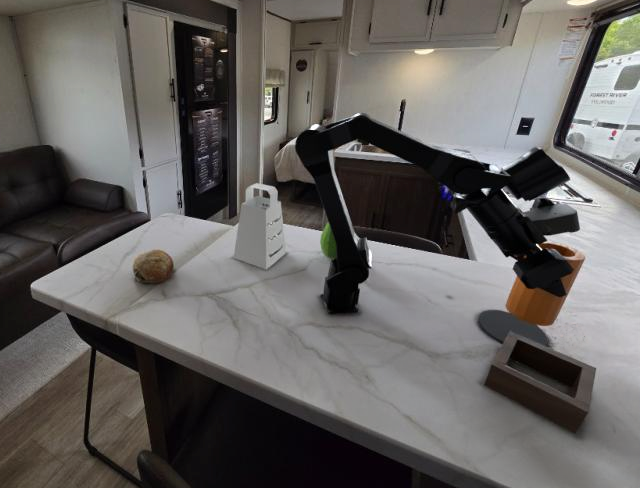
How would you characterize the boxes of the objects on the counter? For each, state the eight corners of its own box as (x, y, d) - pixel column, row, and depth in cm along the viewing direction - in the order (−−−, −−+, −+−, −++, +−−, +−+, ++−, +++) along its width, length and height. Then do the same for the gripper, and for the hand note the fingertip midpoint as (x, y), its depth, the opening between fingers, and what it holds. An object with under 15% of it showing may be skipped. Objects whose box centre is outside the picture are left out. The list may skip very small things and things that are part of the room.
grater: (254, 243, 101) (255, 178, 93) (285, 253, 95) (289, 185, 87) (233, 257, 93) (232, 188, 85) (266, 269, 88) (268, 196, 79)
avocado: (316, 261, 91) (320, 220, 86) (321, 248, 97) (325, 209, 93) (347, 267, 88) (353, 225, 83) (350, 253, 95) (356, 213, 90)
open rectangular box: (575, 434, 48) (588, 412, 46) (483, 384, 55) (491, 364, 54) (584, 388, 55) (596, 368, 53) (501, 349, 62) (509, 330, 60)
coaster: (507, 353, 62) (508, 351, 61) (465, 313, 72) (465, 311, 71) (563, 348, 62) (564, 346, 62) (513, 310, 72) (514, 308, 72)
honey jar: (539, 330, 57) (571, 263, 52) (496, 306, 63) (520, 244, 58) (562, 319, 60) (594, 255, 55) (519, 297, 66) (544, 237, 61)
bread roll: (132, 287, 87) (119, 269, 81) (152, 255, 93) (140, 236, 87) (165, 295, 83) (153, 278, 78) (183, 262, 89) (174, 243, 84)
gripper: (583, 208, 45) (650, 294, 46) (528, 172, 61) (579, 236, 62) (495, 250, 51) (557, 325, 52) (466, 207, 67) (513, 265, 68)
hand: (552, 283), depth 58 cm, fingers closed on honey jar, 7 cm apart
